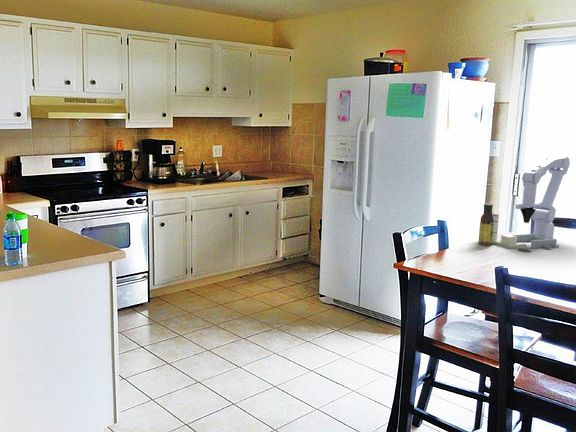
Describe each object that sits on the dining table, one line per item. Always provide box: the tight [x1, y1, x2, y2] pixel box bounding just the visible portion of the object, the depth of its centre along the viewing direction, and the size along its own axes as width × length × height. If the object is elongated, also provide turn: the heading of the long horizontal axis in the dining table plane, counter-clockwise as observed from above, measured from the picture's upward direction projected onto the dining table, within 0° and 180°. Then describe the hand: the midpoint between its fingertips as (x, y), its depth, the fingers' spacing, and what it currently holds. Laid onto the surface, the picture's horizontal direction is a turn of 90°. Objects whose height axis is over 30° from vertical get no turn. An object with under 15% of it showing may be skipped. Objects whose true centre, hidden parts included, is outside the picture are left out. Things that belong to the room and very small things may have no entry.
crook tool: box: [541, 244, 560, 251], centre depth 263 cm, size 10×4×1 cm, turn 112°
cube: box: [500, 234, 518, 245], centre depth 265 cm, size 5×5×5 cm
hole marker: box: [516, 248, 532, 253], centre depth 256 cm, size 6×6×1 cm
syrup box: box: [492, 211, 500, 243], centre depth 273 cm, size 6×6×14 cm
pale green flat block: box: [492, 239, 528, 250], centre depth 265 cm, size 10×11×2 cm
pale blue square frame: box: [511, 233, 558, 249], centre depth 271 cm, size 15×14×4 cm
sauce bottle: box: [478, 203, 494, 247], centre depth 264 cm, size 7×6×20 cm
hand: (526, 222), depth 274 cm, fingers closed
